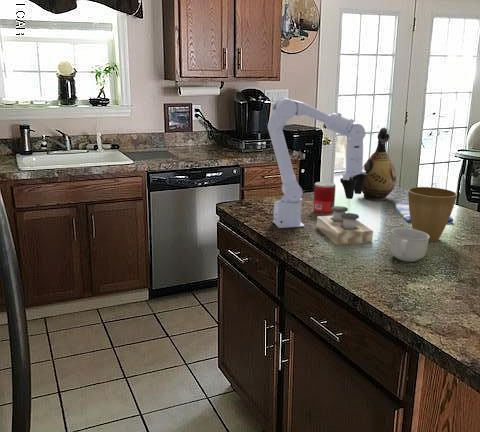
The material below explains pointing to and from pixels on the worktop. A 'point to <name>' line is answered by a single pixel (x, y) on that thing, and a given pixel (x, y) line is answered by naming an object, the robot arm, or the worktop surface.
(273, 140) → the robot arm
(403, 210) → the dish towel
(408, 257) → the teacup
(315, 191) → the canned food
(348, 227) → the knob front
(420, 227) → the plant pot
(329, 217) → the knob mount
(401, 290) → the worktop surface
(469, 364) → the worktop surface
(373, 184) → the ceramic jug
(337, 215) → the knob rear
